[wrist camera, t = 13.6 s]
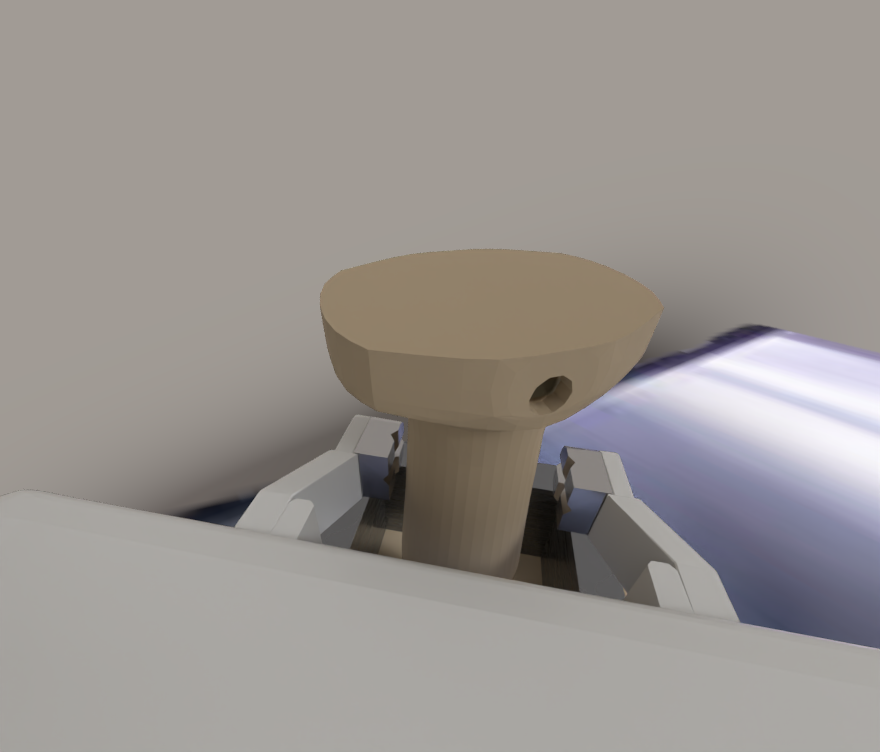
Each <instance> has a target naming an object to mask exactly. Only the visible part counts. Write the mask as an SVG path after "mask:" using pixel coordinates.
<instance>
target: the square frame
mask: <svg viewBox="0 0 880 752" xmlns="http://www.w3.org/2000/svg"><path fill="white" fill-rule="evenodd" d="M406 467H407V442H404V451H403V458H402V463H401V466H400V470H399V472H397V473H396V474H395V485H394V488H393V491H392V494H391V497H390V500H384V499H377V498H370V497H363V496H362V498H361V499H360V500H359V501H358V502H357V503H356V504H355V505H353V506H352V507H351V508H350V509H349V510H348V511H347V512H345V513H344V514H343V515H342V516H341V517H340V518H339V519H338V520H336V521H335V522H334V523H333V524H332V525H331V526H330V527H328V528H327V529H326V530H325V531H324V532H323V533H322V534H320V535H321V540H322V544H325V545H330V546H335V547H340V548H346V549H351V550H356V551H362V552H367V553H372V554H378V553H379V550H380V546H381V543H382V540H383V537H384V534H385V531H386V529H388V530H394V531H399V532H402V530H403V516H404V502H405V487H406ZM555 469H556V466H555V465H549V464H542V463H537V467H536V472H535V477H534V482H533V486H532V491H531V496H530V501H529V507H528V513H527V518H526V524H525V529H524V535H523V541H522V546H521V552H520V553H521V554H526V555H532V556H537V557H541V571H542V586H548V587H553V588H558V589H564V590H569V591H574V592H580V593H585V594H591V595H596V596H601V597H607V598H612V599H617V600H623V599H624V598H625V593H624V589H623V586H622V585H621V584H620V582H619V581H618V579H617V578H616V576H615V575H614V574H613V572H612V571H611V569H610V568H609V566H608V565H607V564H606V562H605V561H604V559H603V558H602V556H601V555H600V554H599V552H598V551H597V549H596V548H595V546H594V545H593V544H592V542H591V541H590V539H589V538H588V535H584V534H579V533H574V532H569V531H564V530H559V529H558V528H557V520H556V512H555V508H556V506H557V503H558V501H557V500H556V499H555V498H554V495H553V478H554V472H555Z"/></svg>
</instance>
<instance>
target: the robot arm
mask: <svg viewBox="0 0 880 752" xmlns="http://www.w3.org/2000/svg"><path fill="white" fill-rule="evenodd" d="M403 433H404V424H403V422H399V421H394V420H388V419H382V418H377V417H369V416H363V415H356V416H354V417H353V419H352V421H351V422H350V424H349V426H348V428H347V429H346V431H345V433H344V435H343V437H342V439H341V440H340V442H339V444H338V446H337V447H336V449H335V450H329V451H327V452H325V453H324V454H322V455H320V456H319V457H317V458H315V459H313V460H312V461H310V462H308V463H306V464H305V465H303V466H301V467H300V468H298V469H296V470H294V471H293V472H291V473H290V474H288V475H286V476H284V477H282V478H281V479H279V480H277V481H275V482H274V483H272V484H270V485H269V486H267V487H265V488H263V489H262V490H260V491H259V493H258V494H257V496H256V497H255V498H254V500H253V501H252V503H251V504H250V505H249V507H248V508H247V510H246V511H245V513H244V514H243V515H242V517H241V518H240V520H239V521H238V522H237V524H236V525H235V527H229V526H224V525H218V524H213V523H208V522H202V521H197V520H192V519H186V518H181V517H176V516H170V515H165V514H160V513H154V512H149V511H143V510H138V509H133V508H127V507H122V506H117V505H111V504H106V503H101V502H95V501H90V500H85V499H79V498H74V497H69V496H64V495H59V494H55V493H50V492H45V491H38V490H20V491H15V492H12V493H8V494H5V495H2V496H0V752H880V649H878V648H872V647H867V646H862V645H856V644H851V643H846V642H840V641H835V640H830V639H824V638H819V637H814V636H808V635H803V634H798V633H793V632H787V631H782V630H777V629H771V628H766V627H761V626H755V625H750V624H745V623H740V621H739V619H738V616H737V614H736V612H735V610H734V608H733V606H732V604H731V601H730V599H729V597H728V595H727V593H726V591H725V589H724V586H723V584H722V582H721V580H720V578H719V576H718V574H717V571H716V570H715V569H714V568H713V567H711V566H710V565H709V564H708V563H707V562H706V561H705V560H704V559H703V558H702V557H701V556H700V555H699V554H698V553H697V552H695V551H694V550H693V549H692V548H691V547H690V546H689V545H688V544H687V543H686V542H685V541H684V540H683V539H682V538H681V537H680V536H678V535H677V534H676V533H675V532H674V531H673V530H672V529H671V528H670V527H669V526H668V525H667V524H666V523H665V522H664V521H662V520H661V519H660V518H659V517H658V516H657V515H656V514H655V513H654V512H653V511H652V510H651V509H650V508H649V507H648V506H646V505H645V504H644V503H643V502H642V501H641V500H640V499H636V498H634V496H633V493H632V490H631V487H630V485H629V482H628V479H627V476H626V473H625V470H624V467H623V464H622V461H621V459H620V456H619V455H618V454H617V453H613V452H606V451H597V450H590V449H583V448H575V447H568V446H564V447H563V448H562V451H561V454H560V459H561V463H560V464H558V465H557V466H556V469H555V472H554V478H553V495H554V498H555V499H556V500H557V501H558V503H557V506H556V508H555V512H556V520H557V528H558V529H559V530H564V531H569V532H574V533H579V534H584V535H588V538H589V539H590V541H591V542H592V544H593V545H594V546H595V548H596V549H597V551H598V552H599V554H600V555H601V556H602V558H603V559H604V561H605V562H606V564H607V565H608V566H609V568H610V569H611V571H612V572H613V574H614V575H615V576H616V578H617V579H618V581H619V582H620V584H621V585H622V586H623V588H624V589H625V591H626V592H627V595H626V597H625V598H624V599H623V600H617V599H612V598H607V597H601V596H596V595H591V594H585V593H580V592H574V591H569V590H564V589H558V588H553V587H548V586H542V585H537V584H531V583H526V582H521V581H515V580H510V579H505V578H499V577H494V576H489V575H484V574H478V573H473V572H468V571H462V570H457V569H452V568H447V567H441V566H436V565H431V564H425V563H420V562H415V561H410V560H404V559H399V558H394V557H388V556H383V555H378V554H372V553H367V552H362V551H356V550H351V549H346V548H340V547H335V546H330V545H325V544H322V540H321V535H320V534H322V533H323V532H324V531H325V530H326V529H327V528H328V527H330V526H331V525H332V524H333V523H334V522H335V521H336V520H338V519H339V518H340V517H341V516H342V515H343V514H344V513H345V512H347V511H348V510H349V509H350V508H351V507H352V506H353V505H355V504H356V503H357V502H358V501H359V500H360V499H361V498H362V496H363V497H370V498H377V499H384V500H390V497H391V494H392V491H393V488H394V485H395V474H396V473H397V472H399V470H400V466H401V463H402V458H403V451H404V442H403V440H402V439H401V438H402V435H403Z"/></svg>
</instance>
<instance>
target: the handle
mask: <svg viewBox="0 0 880 752" xmlns="http://www.w3.org/2000/svg"><path fill="white" fill-rule="evenodd" d="M320 308H321V314H322V319H323V326H324V332H325V337H326V342H327V348H328V352H329V355H330V359H331V361H332V364H333V367H334V370H335V373H336V375H337V377H338V378H339V380H340V381H341V383H342V384H343V386H344V387H345V388H346V390H347V391H348V392H349V393H350V394H352V395H353V396H354V397H355V398H357V399H358V400H359V401H360V402H362V403H364V404H365V405H367V406H369V407H371V408H372V409H374V410H376V411H378V412H383V413H388V414H393V415H397V416H401V417H406V418H408V441H407V467H406V487H405V502H404V516H403V530H402V559H404V560H410V561H415V562H420V563H425V564H431V565H436V566H441V567H447V568H452V569H457V570H462V571H468V572H473V573H478V574H484V575H489V576H494V577H499V578H505V579H510V580H514V577H515V573H516V570H517V566H518V562H519V557H520V552H521V546H522V541H523V535H524V529H525V524H526V518H527V513H528V507H529V501H530V496H531V491H532V486H533V482H534V477H535V472H536V467H537V462H538V457H539V453H540V448H541V443H542V438H543V433H544V430H545V427H547V426H549V425H552V424H554V423H557V422H560V421H562V420H565V419H567V418H568V417H570V416H572V415H573V414H575V413H577V412H579V411H580V410H582V409H584V408H585V407H587V406H588V405H590V404H591V403H593V402H594V401H595V400H597V399H598V398H600V397H601V396H603V395H604V394H605V393H606V392H608V391H609V390H610V389H611V388H612V387H614V386H615V385H616V384H617V383H618V382H619V381H620V380H621V379H622V378H623V377H624V376H625V375H626V374H627V373H628V372H629V371H630V370H631V369H632V368H633V367H634V366H635V365H636V363H637V362H638V361H639V360H640V359H641V357H642V356H643V354H644V352H645V350H646V348H647V346H648V344H649V342H650V339H651V337H652V335H653V333H654V330H655V328H656V326H657V323H658V321H659V319H660V316H661V314H662V312H663V309H664V307H663V306H662V304H661V302H660V300H659V299H658V298H657V297H656V295H655V294H654V293H653V292H652V291H650V290H649V289H648V288H646V287H645V286H644V285H642V284H641V283H639V282H637V281H636V280H634V279H632V278H630V277H628V276H626V275H625V274H623V273H620V272H618V271H616V270H614V269H611V268H609V267H607V266H604V265H601V264H598V263H596V262H593V261H590V260H586V259H583V258H579V257H575V256H570V255H566V254H562V253H550V252H537V251H523V250H507V249H470V250H469V249H468V250H454V251H439V252H427V253H417V254H409V255H404V256H398V257H393V258H389V259H385V260H381V261H377V262H372V263H369V264H365V265H361V266H357V267H353V268H349V269H345V270H341V271H340V272H338V273H337V274H336V275H334V276H333V277H332V278H331V279H330V280H329V281H328V282H327V283H326V284H325V285H324V287H323V289H322V292H321V294H320Z"/></svg>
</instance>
